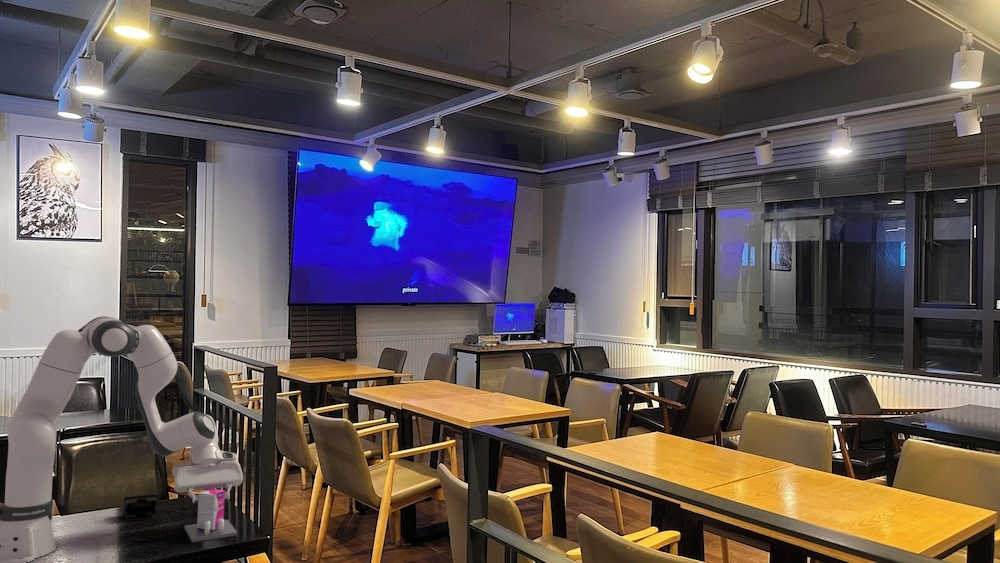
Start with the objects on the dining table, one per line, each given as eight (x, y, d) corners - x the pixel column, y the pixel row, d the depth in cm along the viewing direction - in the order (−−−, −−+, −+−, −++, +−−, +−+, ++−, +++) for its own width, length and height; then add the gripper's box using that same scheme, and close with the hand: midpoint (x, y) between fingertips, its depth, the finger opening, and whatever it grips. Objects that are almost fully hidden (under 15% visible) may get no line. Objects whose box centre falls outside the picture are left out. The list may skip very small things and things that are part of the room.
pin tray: (192, 542, 212) (192, 525, 212) (184, 528, 223) (185, 513, 223) (237, 535, 219) (237, 519, 219) (227, 522, 230) (228, 507, 230)
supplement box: (213, 532, 217) (214, 494, 217) (196, 530, 219) (197, 493, 219) (224, 525, 223) (225, 489, 223) (207, 523, 224) (208, 487, 224)
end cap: (156, 511, 238) (157, 491, 238) (157, 518, 232) (158, 497, 232) (123, 515, 233) (123, 494, 233) (123, 521, 227) (124, 500, 227)
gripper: (173, 459, 222) (176, 499, 214) (240, 453, 233) (246, 490, 225) (170, 469, 226) (173, 509, 217) (237, 463, 237) (242, 500, 229)
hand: (211, 499), depth 221 cm, fingers closed on supplement box, 8 cm apart
